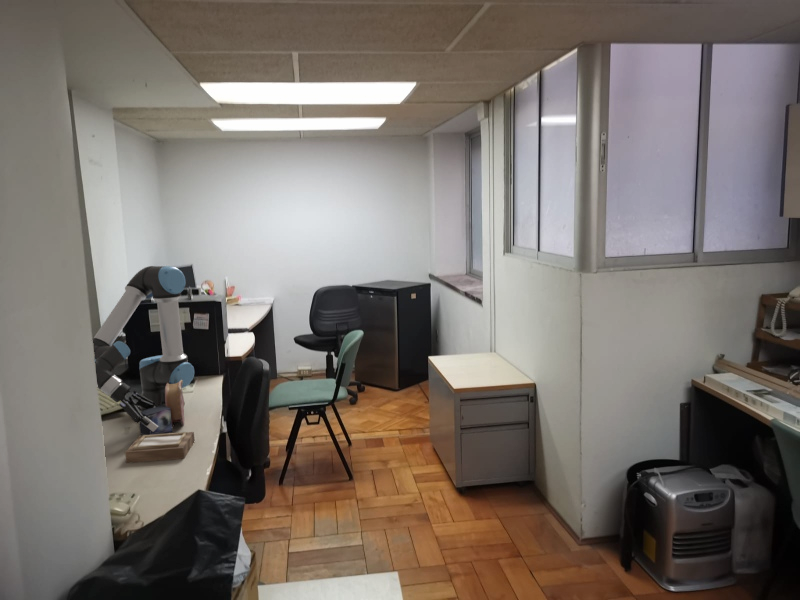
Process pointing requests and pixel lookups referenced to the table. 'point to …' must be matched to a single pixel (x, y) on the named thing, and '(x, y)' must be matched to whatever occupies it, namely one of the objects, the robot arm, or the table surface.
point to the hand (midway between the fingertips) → (160, 423)
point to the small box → (157, 420)
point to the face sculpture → (175, 401)
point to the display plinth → (160, 447)
